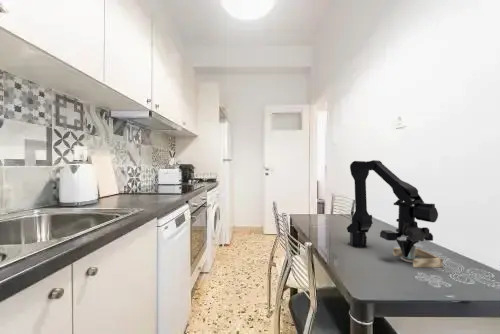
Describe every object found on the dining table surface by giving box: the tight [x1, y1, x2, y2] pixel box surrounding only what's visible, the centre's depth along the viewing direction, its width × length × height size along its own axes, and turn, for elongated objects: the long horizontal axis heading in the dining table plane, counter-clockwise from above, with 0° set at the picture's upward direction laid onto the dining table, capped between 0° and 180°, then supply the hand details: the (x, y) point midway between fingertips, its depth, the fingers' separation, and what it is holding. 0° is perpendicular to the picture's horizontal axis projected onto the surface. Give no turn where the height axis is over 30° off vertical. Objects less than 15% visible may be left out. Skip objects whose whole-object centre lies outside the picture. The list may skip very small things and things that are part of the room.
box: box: [392, 247, 444, 268], centre depth 112 cm, size 11×14×3 cm
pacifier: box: [400, 244, 417, 264], centre depth 112 cm, size 7×6×6 cm
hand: (405, 256), depth 111 cm, fingers closed
